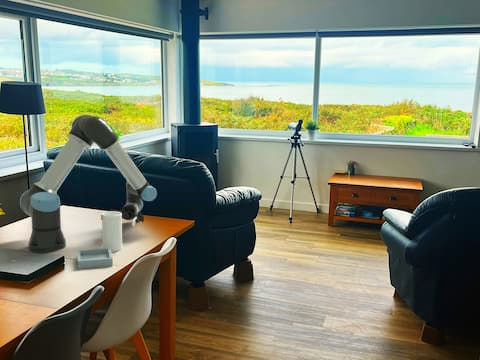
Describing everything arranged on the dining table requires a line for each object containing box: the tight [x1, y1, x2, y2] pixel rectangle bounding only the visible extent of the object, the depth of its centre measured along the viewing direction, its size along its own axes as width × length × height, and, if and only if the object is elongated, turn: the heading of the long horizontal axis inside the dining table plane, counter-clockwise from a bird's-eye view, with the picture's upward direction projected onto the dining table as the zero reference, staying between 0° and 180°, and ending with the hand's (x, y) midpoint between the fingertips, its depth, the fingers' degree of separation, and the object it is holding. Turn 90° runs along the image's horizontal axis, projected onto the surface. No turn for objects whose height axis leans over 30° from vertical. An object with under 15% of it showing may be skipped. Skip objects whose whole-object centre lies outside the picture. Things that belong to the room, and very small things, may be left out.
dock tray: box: [77, 247, 114, 269], centre depth 188 cm, size 13×13×3 cm
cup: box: [101, 210, 123, 253], centre depth 203 cm, size 8×8×16 cm
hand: (118, 222), depth 212 cm, fingers open, 13 cm apart
